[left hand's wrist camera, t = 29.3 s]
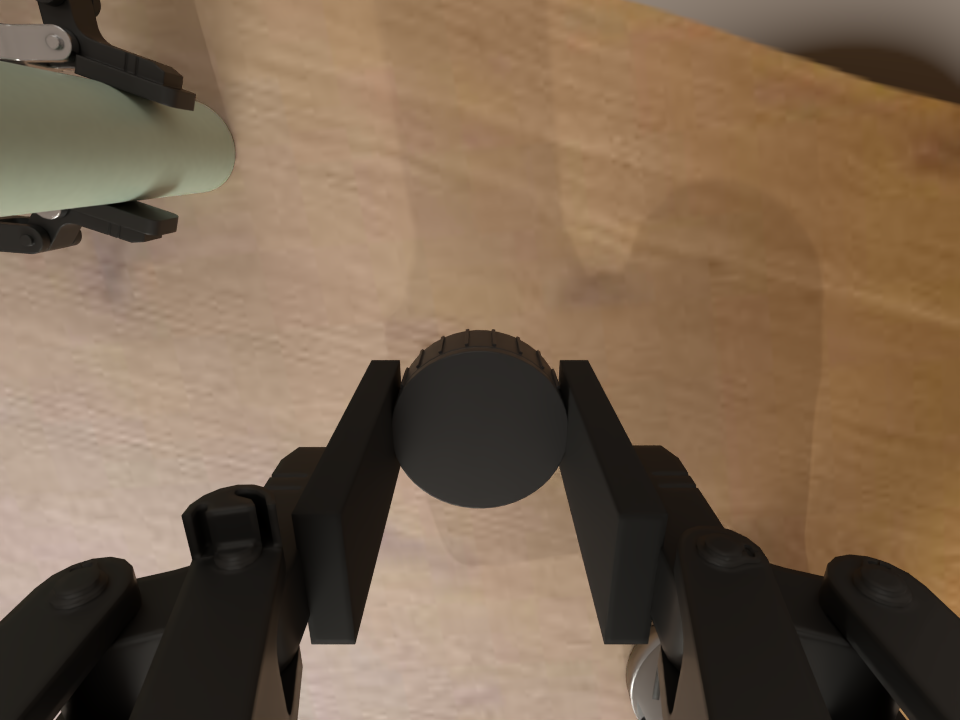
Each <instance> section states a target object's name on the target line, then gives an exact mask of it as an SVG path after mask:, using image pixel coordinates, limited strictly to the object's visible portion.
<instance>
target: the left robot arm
mask: <svg viewBox="0 0 960 720" xmlns="http://www.w3.org/2000/svg"><path fill="white" fill-rule="evenodd" d="M400 385H401V373H400V360H372V361H371V363H370V365H369V366H368V368H367V370H366V372H365V374H364V376H363V378H362V380H361V382H360V384H359V386H358V387H357V389H356V391H355V393H354V395H353V397H352V399H351V401H350V403H349V405H348V407H347V409H346V410H345V412H344V414H343V416H342V418H341V420H340V422H339V424H338V426H337V428H336V430H335V431H334V433H333V435H332V437H331V439H330V441H329V443H328V445H327V447H299V448H297V449H296V450H294V451H293V452H292V453H290V454H289V455H287V456H286V457H285V458H283V459H282V460H281V461H280V463H279V464H278V466H277V467H276V469H275V470H274V472H273V474H272V477H270V478H269V480H268V481H267V483H266V484H265V486H264V487H261V486H257V485H234V486H230V487H225V488H221V489H218V490H216V491H213V492H211V493H208V494H206V495H204V496H202V497H201V498H199V499H198V500H196V501H195V502H193V503H192V504H191V505H189V507H188V508H187V509H186V511H185V512H184V513H183V514H182V520H183V524H184V528H185V532H186V536H187V540H188V544H189V548H190V552H191V556H192V562H191V565H190V566H187V567H184V568H180V569H177V570H173V571H169V572H164V573H160V574H155V575H151V576H146V577H142V578H137V579H136V576H135V573H134V570H133V566H132V565H130V564H129V563H128V562H127V561H126V560H125V559H120V558H115V557H105V558H96V559H90V560H87V561H84V562H80V563H78V564H75V565H72V566H70V567H68V568H66V569H64V570H62V571H60V572H58V573H56V574H54V575H52V576H51V577H49V578H48V579H47V580H46V581H44V582H43V583H42V584H40V585H39V586H38V587H36V588H35V589H34V590H33V591H32V592H31V593H30V594H29V595H28V596H27V597H26V598H24V599H23V600H22V601H21V602H20V603H19V604H18V605H17V606H16V607H15V608H14V609H13V610H12V611H11V612H10V613H9V614H8V615H7V616H6V617H5V618H3V619H2V620H1V621H0V720H53V719H54V718H55V716H56V715H57V714H58V713H59V711H60V710H61V713H60V715H59V716H58V717H57V719H56V720H297V718H298V708H299V698H300V688H301V678H302V668H303V666H302V659H301V652H300V646H299V644H300V642H301V639H302V636H303V634H304V631H305V628H306V625H307V623H308V625H309V631H310V638H311V644H355V643H356V639H357V635H358V631H359V627H360V623H361V619H362V616H363V612H364V608H365V604H366V600H367V596H368V592H369V588H370V584H371V580H372V576H373V572H374V568H375V564H376V560H377V556H378V552H379V549H380V545H381V541H382V537H383V533H384V529H385V525H386V521H387V517H388V513H389V509H390V505H391V501H392V497H393V493H394V489H395V485H396V481H397V478H398V474H399V470H400V466H401V465H400V463H399V462H398V460H397V458H396V455H395V452H394V446H393V432H392V414H393V410H394V405H395V403H396V400H397V397H398V394H399V391H400V388H401V387H400ZM559 385H560V389H559V390H560V393H561V396H562V398H563V401H564V404H565V407H566V411H567V415H568V427H567V442H566V451H565V454H564V456H563V459H562V461H561V463H560V465H559V467H560V471H561V475H562V479H563V483H564V487H565V491H566V495H567V499H568V503H569V506H570V510H571V514H572V518H573V522H574V526H575V530H576V534H577V538H578V542H579V546H580V550H581V554H582V558H583V562H584V566H585V570H586V574H587V577H588V581H589V585H590V589H591V593H592V597H593V601H594V605H595V609H596V613H597V617H598V621H599V625H600V629H601V633H602V637H603V641H604V644H636V646H635V647H634V649H633V651H632V653H631V655H630V658H629V660H628V664H627V669H626V683H627V689H628V692H629V696H630V699H631V703H632V707H633V710H634V713H635V715H636V717H637V719H638V720H906V719H905V717H904V716H903V715H902V713H901V712H900V711H899V708H901V709H902V711H903V712H904V713H905V714H906V716H907V717H908V718H909V720H960V618H959V617H958V616H957V615H956V614H955V613H953V612H952V611H951V610H950V609H949V608H948V607H947V606H946V605H945V604H944V603H943V602H942V601H941V600H940V599H939V598H938V597H937V596H935V595H934V594H933V593H932V592H931V591H930V590H929V589H928V588H927V587H926V586H925V585H923V584H922V583H921V582H919V581H918V580H917V579H915V578H914V577H913V576H911V575H910V574H909V573H907V572H905V571H903V570H901V569H899V568H897V567H895V566H893V565H891V564H889V563H887V562H884V561H881V560H877V559H874V558H871V557H867V556H858V555H844V556H839V557H835V558H834V559H833V560H832V561H831V562H829V563H828V565H827V568H826V571H825V575H824V576H819V575H815V574H810V573H806V572H801V571H797V570H792V569H788V568H784V567H780V566H777V565H773V564H770V563H769V561H768V559H767V557H766V556H765V554H764V553H763V552H762V550H761V549H760V547H758V546H757V545H756V544H755V543H753V542H752V541H751V540H749V539H748V538H747V537H745V536H743V535H741V534H738V533H736V532H734V531H732V530H729V529H725V528H724V527H723V526H722V524H721V522H720V521H719V519H718V518H717V516H716V515H715V513H714V512H713V510H712V509H711V507H710V506H709V504H708V503H707V501H706V499H705V498H704V496H703V495H702V493H701V492H700V490H699V489H698V488H696V484H695V483H694V481H693V480H692V478H691V477H690V476H688V472H687V470H686V469H685V467H684V466H683V464H682V463H681V461H680V460H679V458H678V457H676V456H675V455H673V454H672V453H671V452H669V451H668V450H666V449H665V448H664V447H662V446H632V444H631V442H630V440H629V438H628V436H627V434H626V432H625V430H624V428H623V426H622V425H621V423H620V421H619V419H618V417H617V415H616V413H615V411H614V409H613V407H612V405H611V403H610V402H609V400H608V398H607V396H606V394H605V392H604V390H603V388H602V386H601V384H600V382H599V381H598V379H597V377H596V375H595V373H594V371H593V369H592V367H591V365H590V363H589V361H588V360H560V367H559ZM652 621H653V624H654V625H653V626H652V627H651V623H652Z"/></svg>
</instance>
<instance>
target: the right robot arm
mask: <svg viewBox="0 0 960 720" xmlns="http://www.w3.org/2000/svg"><path fill="white" fill-rule="evenodd" d="M37 1H38V5H39V9H40V13H41V16H42V20H43V24H2V23H0V61H3V62H8V63H13V64H18V65H23V66H28V67H33V68H38V69H43V70H47V71H52V72H63V70H75V73H76V74H78V75H81V76H84V77H87V78H90V79H92V80H96V81H99V82H102V83H104V84H106V85H109V86H112V87H115V88H118V89H120V90H123V91H126V92H129V93H132V94H134V95H137V96H140V97H143V98H146V99H148V100H151V101H154V102H157V103H160V104H163V105H166V106H169V107H173V108H177V109H183V110H189V111H194V106H195V98H196V94H194V93H192V92H189V91H186V90H183V89H182V83H183V76H182V75H180V74H179V73H178V72H177V71H176V70H174V69H173V68H172V67H169V66H166V65H164V64H161V63H158V62H156V61H153V60H150V59H147V58H145V57H142V56H139V55H136V54H134V53H131V52H128V51H126V50H123V49H120V48H117V47H115V46H112V45H111V44H109V43H108V42H107V41H106V40H105V39H104V38H103V37H102V35H101V33H100V31H99V29H98V25H97V21H96V16H97V15H98V14H99V12H100V9H101V3H100V0H37ZM177 223H178V215H176V214H174V213H171V212H168V211H165V210H162V209H159V208H156V207H153V206H150V205H147V204H144V203H141V202H138V201H129V202H120V203H112V204H104V205H96V206H87V207H79V208H71V209H62V210H54V211H46V212H38V213H32V215H31V217H26V216H14V215H13V216H5V217H0V251H1V252H13V253H26V254H36V253H41V252H46V251H50V250H55V249H60V248H64V247H69V246H73V245H77V244H78V243H79V242H80V241H81V238H82V233H81V230H80V228H81V227H82V226H83V227H86V228H89V229H92V230H95V231H98V232H101V233H104V234H107V235H110V236H113V237H116V238H119V239H122V240H125V241H128V242H131V243H133V242H146V241H150V240H154V239H158V238H162V235H164V234H168V233H172V232H176V230H177Z"/></svg>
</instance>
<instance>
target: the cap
mask: <svg viewBox="0 0 960 720" xmlns="http://www.w3.org/2000/svg"><path fill="white" fill-rule="evenodd" d="M400 387H401V388H400V391H399V394H398V397H397V400H396V403H395V405H394V410H393V414H392V432H393V446H394V452H395V455H396V458H397V460H398V462H399V463H400V465H401V467H402V469H403V470H404V471H405V473H406V474H407V476H408V477H409V478H410V479H411V480H412V481H413V482H414V483H415V484H416V485H417V486H418V487H420V488H421V489H422V490H423V491H425V492H426V493H428V494H429V495H431V496H433V497H435V498H437V499H439V500H441V501H444V502H446V503H449V504H452V505H456V506H460V507H467V508H493V507H499V506H504V505H507V504H510V503H513V502H516V501H518V500H521V499H523V498H525V497H527V496H528V495H530V494H532V493H533V492H535V491H536V490H538V489H539V488H540V487H541V486H543V485H544V484H545V483H546V482H547V481H548V480H549V479H550V478H551V476H552V475H553V474H554V472H555V471H556V470H557V468H558V466H559V465H560V463H561V461H562V459H563V456H564V454H565V451H566V442H567V427H568V415H567V411H566V407H565V404H564V401H563V398H562V396H561V393H560V390H559V389H560V385H559V382H558V379H557V376H556V373H555V371H554V369H551V368H550V366H549V365H548V364H547V362H546V361H545V360H544V358H543V357H542V356H541V353H540V351H539V350H537V351H536V350H534V349H533V348H532V347H531V346H529V345H528V344H526V343H525V342H523V341H521V340H520V338H519V337H516V338H515V337H512V336H510V335H507V334H504V333H500V332H495V330H494V329H492V331H488V330H473V331H469V329H466V331H464V332H460V333H456V334H452V335H450V336H447V337H444V336H442V337H441V340H439V341H437V342H435V343H433V344H432V345H431V346H429V347H428V348H426V349H425V350H423V349H422V350H421V351H420V354H419V356H418V357H417V358H416V359H415V361H414V362H413V363H412V364H411V366H410V368H408V367H407V368H406V370H405V373H404V376H403V379H402V382H401V385H400Z"/></svg>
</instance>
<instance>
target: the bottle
mask: <svg viewBox="0 0 960 720" xmlns="http://www.w3.org/2000/svg"><path fill="white" fill-rule="evenodd" d="M234 162H235V146H234V142H233V139H232V136H231V133H230V131H229V129H228V127H227V126H226V124H225V123H224V121H223V120H222V119H221V117H220V116H219V115H218V114H217V113H216V112H214V111H213V110H212V109H211V108H209V107H207V106H206V105H204V104H202V103H200V102H197V101H195V106H194V111H189V110H183V109H177V108H173V107H169V106H166V105H163V104H160V103H157V102H154V101H151V100H148V99H146V98H143V97H140V96H137V95H134V94H132V93H129V92H126V91H123V90H120V89H118V88H115V87H112V86H109V85H106V84H104V83H102V82H99V81H96V80H92V79H87V78H82V77H77V76H72V75H67V74H62V73H57V72H52V71H47V70H43V69H38V68H33V67H28V66H23V65H18V64H13V63H8V62H3V61H0V217H5V216H13V215H21V214H29V213H38V212H46V211H54V210H62V209H71V208H79V207H87V206H96V205H104V204H112V203H120V202H129V201H137V200H145V199H153V198H162V197H170V196H178V195H186V194H195V193H203V192H208V191H212V190H214V189H216V188H218V187H220V186H221V185H222V184H223V183H224V182H225V181H226V180H227V179H228V178H229V176H230V174H231V172H232V170H233V167H234Z"/></svg>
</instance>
